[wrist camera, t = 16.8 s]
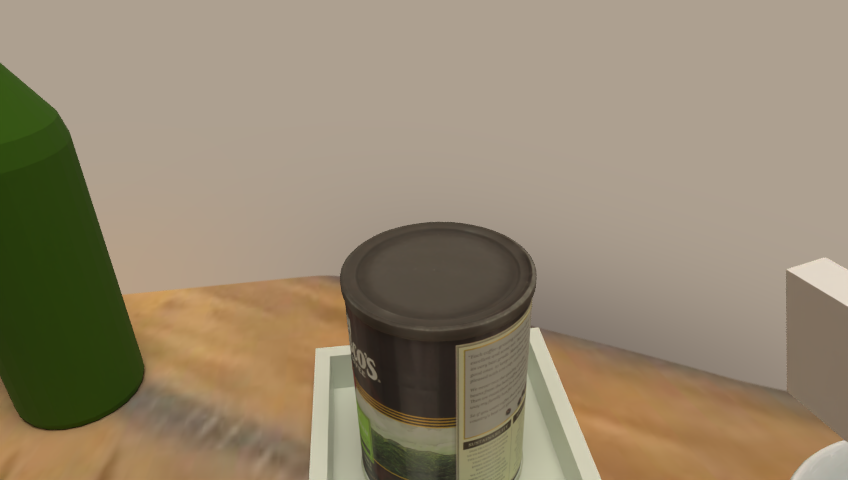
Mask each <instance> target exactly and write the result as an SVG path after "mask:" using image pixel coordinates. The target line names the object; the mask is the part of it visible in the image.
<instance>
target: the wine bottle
mask: <svg viewBox="0 0 848 480" xmlns="http://www.w3.org/2000/svg"><path fill="white" fill-rule="evenodd" d="M143 372H144V363H143V360H142V356H141V353H140V350H139V347H138V344H137V341H136V338H135V335H134V332H133V328H132V325H131V322H130V319H129V316H128V313H127V310H126V307H125V303H124V300H123V297H122V294H121V291H120V288H119V285H118V282H117V279H116V275H115V273H114V269H113V266H112V263H111V260H110V257H109V254H108V251H107V247H106V244H105V241H104V238H103V235H102V232H101V229H100V226H99V222H98V219H97V216H96V213H95V210H94V207H93V204H92V201H91V198H90V195H89V191H88V188H87V185H86V182H85V179H84V176H83V173H82V170H81V166H80V163H79V160H78V157H77V154H76V151H75V148H74V145H73V142H72V138H71V135H70V132H69V130H68V129H67V127H66V125H65V124H64V122H63V120H62V119H61V117H60V116H59V114H58V112H57V111H56V110H55V109H54V108H53V107H51V105H49V104H48V103H47V102H46V101H45V100H43V99H42V98H41V97H40V96H39V95H37V94H36V93H35V92H34V91H33V90H32V89H30V88H29V87H28V86H27V85H26V84H25V83H23V82H22V81H21V80H20V79H19V78H17V77H16V76H15V75H14V74H13V73H11V72H10V71H9V70H8V69H7V68H6V67H5V66H3V65H2V64H1V63H0V376H1V379H2V381H3V383H4V385H5V387H6V389H7V391H8V394H9V396H10V398H11V400H12V402H13V404H14V406H15V409H16V410H17V412H18V413H19V415H20V417H21V418H23V419H24V420H25V421H26V422H28V423H30V424H31V425H33V426H35V427H39V428H43V429H48V430H54V429H68V428H73V427H79V426H82V425H85V424H88V423H91V422H94V421H96V420H99V419H101V418H103V417H105V416H106V415H108V414H110V413H112V412H114V411H115V410H117V409H118V408H119V407H121V406H122V405H123V404H125V403H126V402H127V401H128V400H129V399H130V398H131V397H132V396H133V395H134V393H135V392H136V391H137V389H138V387H139V386H140V384H141V382H142V378H143Z"/></svg>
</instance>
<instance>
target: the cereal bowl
mask: <svg viewBox="0 0 848 480" xmlns="http://www.w3.org/2000/svg"><path fill="white" fill-rule="evenodd" d="M790 480H848V443H847V442H846V441H845V440H843V441H839V442H837V443H834V444H831V445H829V446H827V447H825V448H823V449H821V450H819V451H818V452H816V453H815V454H813V455H812V456H810V457H809V458H808V459H807V460H805V461H804V462H803V463H802V464H801V465H800V466H799V468H798V469H797V470H796V471H795V472H794V474H793V476H792V477H791V479H790Z"/></svg>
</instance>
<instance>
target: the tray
mask: <svg viewBox="0 0 848 480" xmlns="http://www.w3.org/2000/svg"><path fill="white" fill-rule="evenodd" d="M522 451H523V465H522V471H521V475H520V477H519V480H601V478H600V475H599V473H598V470H597V468H596V466H595V463H594V461H593V458H592V456H591V453H590V451H589V449H588V446H587V444H586V441H585V439H584V436H583V434H582V432H581V429H580V427H579V424H578V422H577V419H576V417H575V415H574V412H573V410H572V407H571V405H570V402H569V400H568V398H567V395H566V393H565V390H564V388H563V385H562V383H561V381H560V378H559V376H558V373H557V371H556V368H555V366H554V364H553V361H552V359H551V356H550V354H549V351H548V349H547V347H546V344H545V342H544V339H543V337H542V334H541V332H540V330H539V328H530V340H529V355H528V370H527V389H526V400H525V416H524V432H523V446H522ZM361 456H362V449H361V441H360V430H359V422H358V413H357V403H356V394H355V385H354V377H353V369H352V360H351V350H350V345H347V346H336V347H326V348H316V357H315V376H314V395H313V414H312V433H311V452H310V471H309V480H366V479H365V477H364V474H363V470H362V465H361Z"/></svg>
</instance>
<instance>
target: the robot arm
mask: <svg viewBox="0 0 848 480" xmlns="http://www.w3.org/2000/svg"><path fill="white" fill-rule="evenodd" d="M786 303H787V304H786V305H787V306H786V309H787V310H786V311H787V392H788V393H790V394H791V395H792V396H793V397H794V398H795V399H797V400H798V401H799V402H800V403H801V404H803V405H804V406H805V407H806V408H807V409H808V410H810V411H811V412H812V413H813V414H814V415H816V416H817V417H818V418H819V419H820V420H821V421H823V422H824V423H825V424H826V425H827V426H829V427H830V428H831V429H832V430H833V431H834V432H836V433H837V434H838V435H839V436H840V437H842V438H843V439H844V440H845V441H846V442H847V443H848V269H846V268H844V267H842V266H840V265H838V264H836V263H834V262H833V261H831V260H829V259H827V258H825V257H824V258H821V259H818V260H815V261H812V262H808V263H805V264H802V265H799V266H796V267H792V268H789V269H786Z"/></svg>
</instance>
